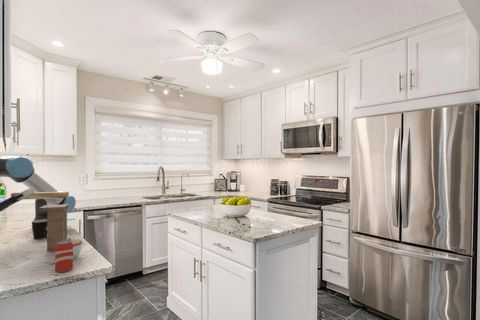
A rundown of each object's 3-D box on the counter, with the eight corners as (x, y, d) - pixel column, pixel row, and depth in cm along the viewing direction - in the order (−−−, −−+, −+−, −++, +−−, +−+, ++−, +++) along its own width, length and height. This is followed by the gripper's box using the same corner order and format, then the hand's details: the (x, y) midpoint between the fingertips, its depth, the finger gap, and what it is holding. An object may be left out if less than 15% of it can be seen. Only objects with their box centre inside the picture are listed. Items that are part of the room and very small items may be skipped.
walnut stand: (44, 247, 149) (45, 205, 149) (68, 246, 152) (68, 204, 152) (38, 253, 140) (38, 207, 140) (63, 251, 144) (64, 207, 144)
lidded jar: (82, 259, 131) (82, 239, 131) (54, 263, 126) (54, 242, 126) (81, 253, 141) (82, 234, 141) (56, 256, 135) (56, 237, 135)
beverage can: (69, 266, 123) (69, 239, 123) (74, 270, 119) (75, 241, 119) (53, 270, 119) (53, 241, 119) (58, 274, 114) (58, 245, 114)
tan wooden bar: (14, 198, 142) (14, 192, 142) (68, 197, 150) (68, 191, 150) (10, 200, 139) (10, 193, 139) (66, 198, 146) (66, 192, 146)
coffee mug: (39, 240, 163) (40, 222, 163) (27, 239, 165) (27, 222, 165) (56, 234, 174) (57, 218, 174) (45, 234, 176) (45, 218, 176)
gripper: (-4, 218, 145) (42, 194, 152) (-23, 226, 129) (29, 198, 135) (-13, 206, 144) (34, 182, 151) (-33, 212, 128) (20, 185, 134)
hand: (32, 190), depth 143 cm, fingers closed on tan wooden bar, 4 cm apart
